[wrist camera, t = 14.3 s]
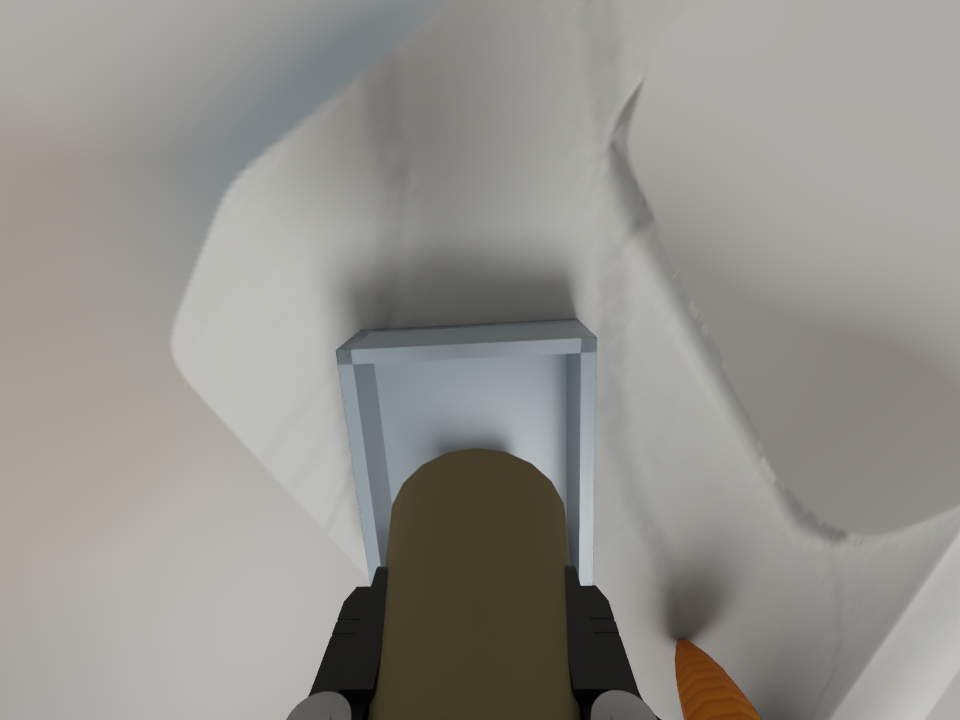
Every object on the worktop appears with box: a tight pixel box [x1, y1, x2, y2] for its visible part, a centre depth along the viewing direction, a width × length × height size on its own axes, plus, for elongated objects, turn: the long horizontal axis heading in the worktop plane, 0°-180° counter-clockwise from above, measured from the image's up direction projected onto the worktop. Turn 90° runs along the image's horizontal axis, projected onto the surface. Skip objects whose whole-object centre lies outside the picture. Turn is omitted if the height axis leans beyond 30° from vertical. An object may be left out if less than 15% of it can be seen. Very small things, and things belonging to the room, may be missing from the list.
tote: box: [336, 319, 597, 586], centre depth 28 cm, size 18×14×5 cm
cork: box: [368, 448, 581, 720], centre depth 10 cm, size 6×6×11 cm
